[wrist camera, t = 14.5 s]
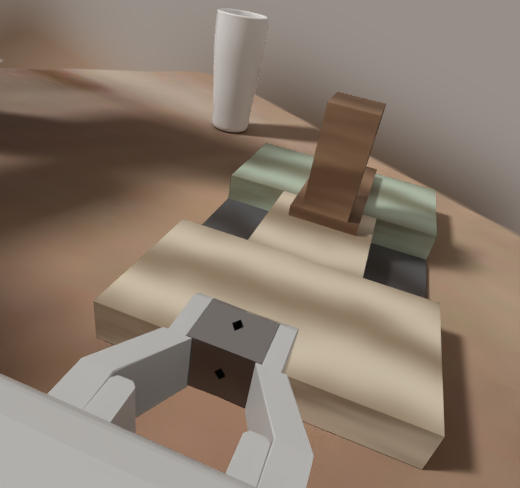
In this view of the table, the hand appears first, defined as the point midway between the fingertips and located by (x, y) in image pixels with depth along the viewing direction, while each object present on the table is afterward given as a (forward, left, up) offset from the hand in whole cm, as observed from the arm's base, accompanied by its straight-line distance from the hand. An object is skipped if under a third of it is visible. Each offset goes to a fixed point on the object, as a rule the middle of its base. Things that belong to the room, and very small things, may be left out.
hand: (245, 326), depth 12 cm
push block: (+20, +23, -9) cm, 32 cm away
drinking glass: (+19, +49, -13) cm, 54 cm away
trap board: (+15, +17, -12) cm, 26 cm away
